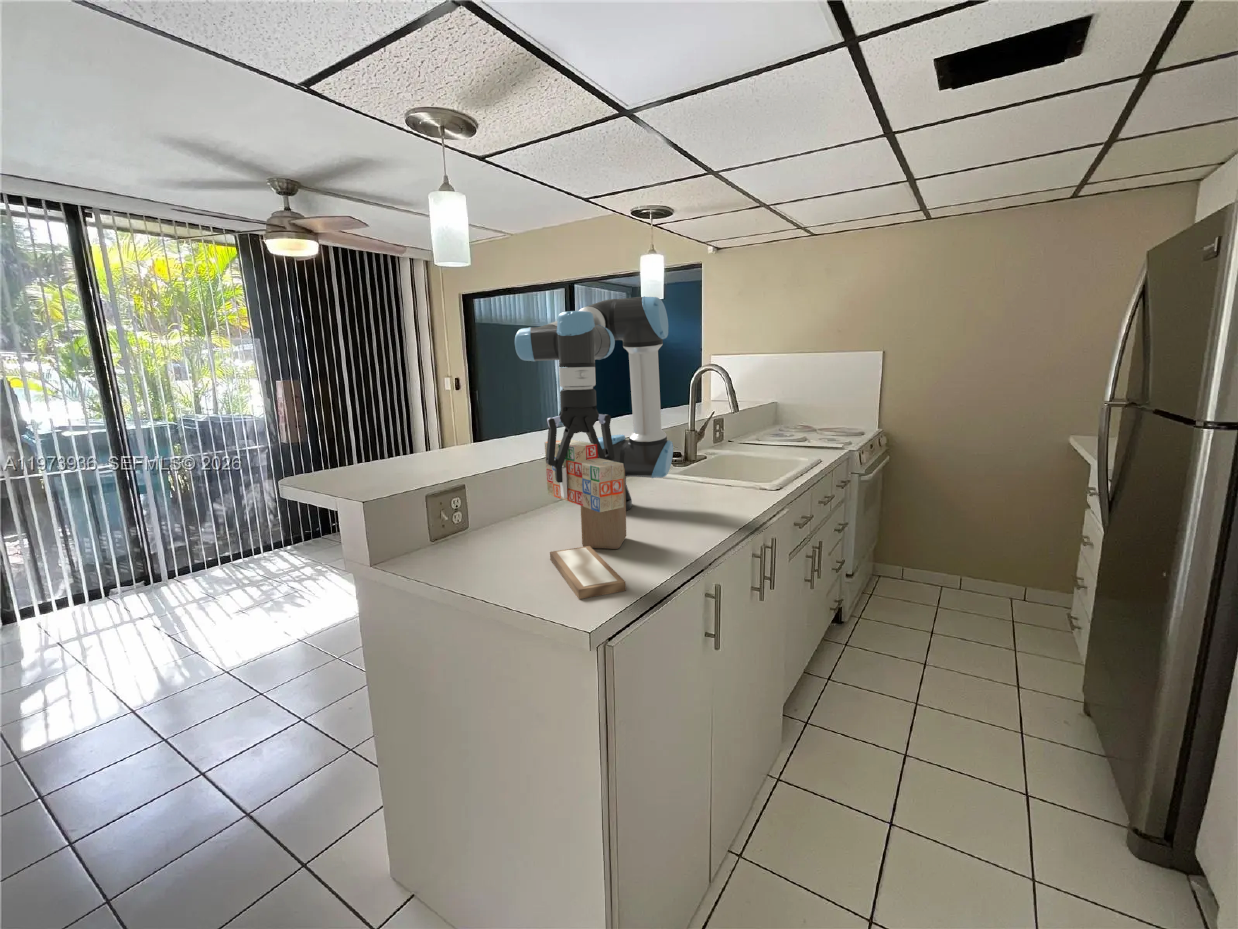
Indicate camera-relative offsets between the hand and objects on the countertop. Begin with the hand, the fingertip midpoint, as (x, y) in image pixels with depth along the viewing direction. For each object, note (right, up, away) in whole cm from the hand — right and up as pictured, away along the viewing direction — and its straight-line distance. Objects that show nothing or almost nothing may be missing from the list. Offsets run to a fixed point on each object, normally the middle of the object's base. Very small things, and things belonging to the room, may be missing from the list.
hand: (581, 494), depth 116 cm
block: (+4, -14, +24) cm, 28 cm away
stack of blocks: (0, -1, 0) cm, 2 cm away
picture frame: (0, -18, +3) cm, 18 cm away
